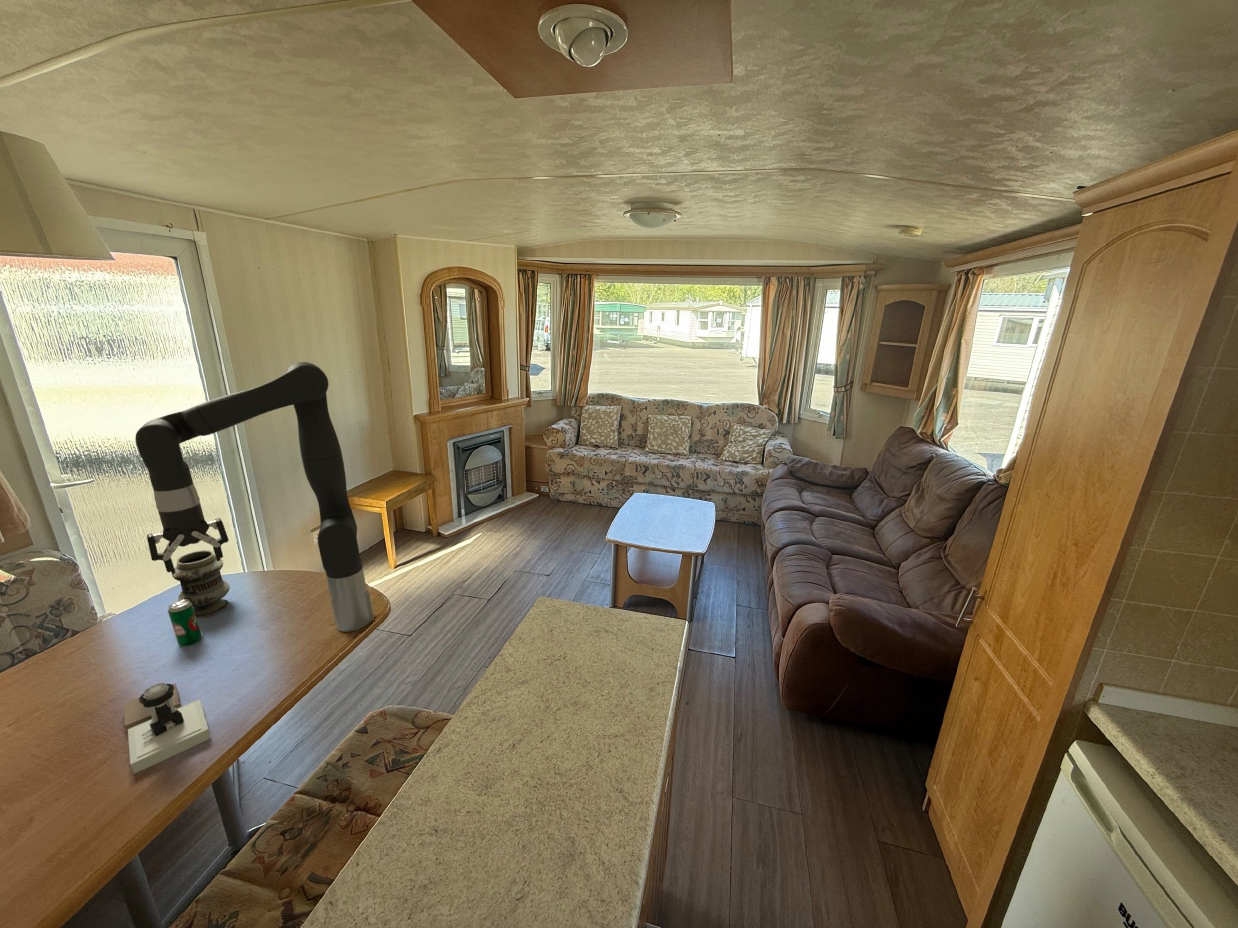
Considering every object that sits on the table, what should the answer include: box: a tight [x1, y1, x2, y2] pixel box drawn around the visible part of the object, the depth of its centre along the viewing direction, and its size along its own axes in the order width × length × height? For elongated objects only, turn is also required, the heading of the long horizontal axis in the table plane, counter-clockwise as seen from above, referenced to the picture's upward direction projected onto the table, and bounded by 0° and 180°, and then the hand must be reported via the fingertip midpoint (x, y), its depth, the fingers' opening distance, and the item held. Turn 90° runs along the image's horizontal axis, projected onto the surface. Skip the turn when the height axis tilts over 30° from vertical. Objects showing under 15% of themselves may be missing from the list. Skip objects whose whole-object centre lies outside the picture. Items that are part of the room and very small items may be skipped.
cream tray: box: [127, 698, 212, 775], centre depth 105 cm, size 12×12×3 cm
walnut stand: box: [123, 683, 182, 734], centre depth 112 cm, size 9×9×2 cm
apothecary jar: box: [171, 549, 230, 619], centre depth 148 cm, size 12×12×18 cm
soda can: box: [167, 599, 203, 647], centre depth 134 cm, size 5×5×12 cm
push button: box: [138, 682, 184, 740], centre depth 103 cm, size 7×5×10 cm
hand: (196, 566), depth 120 cm, fingers open, 8 cm apart
